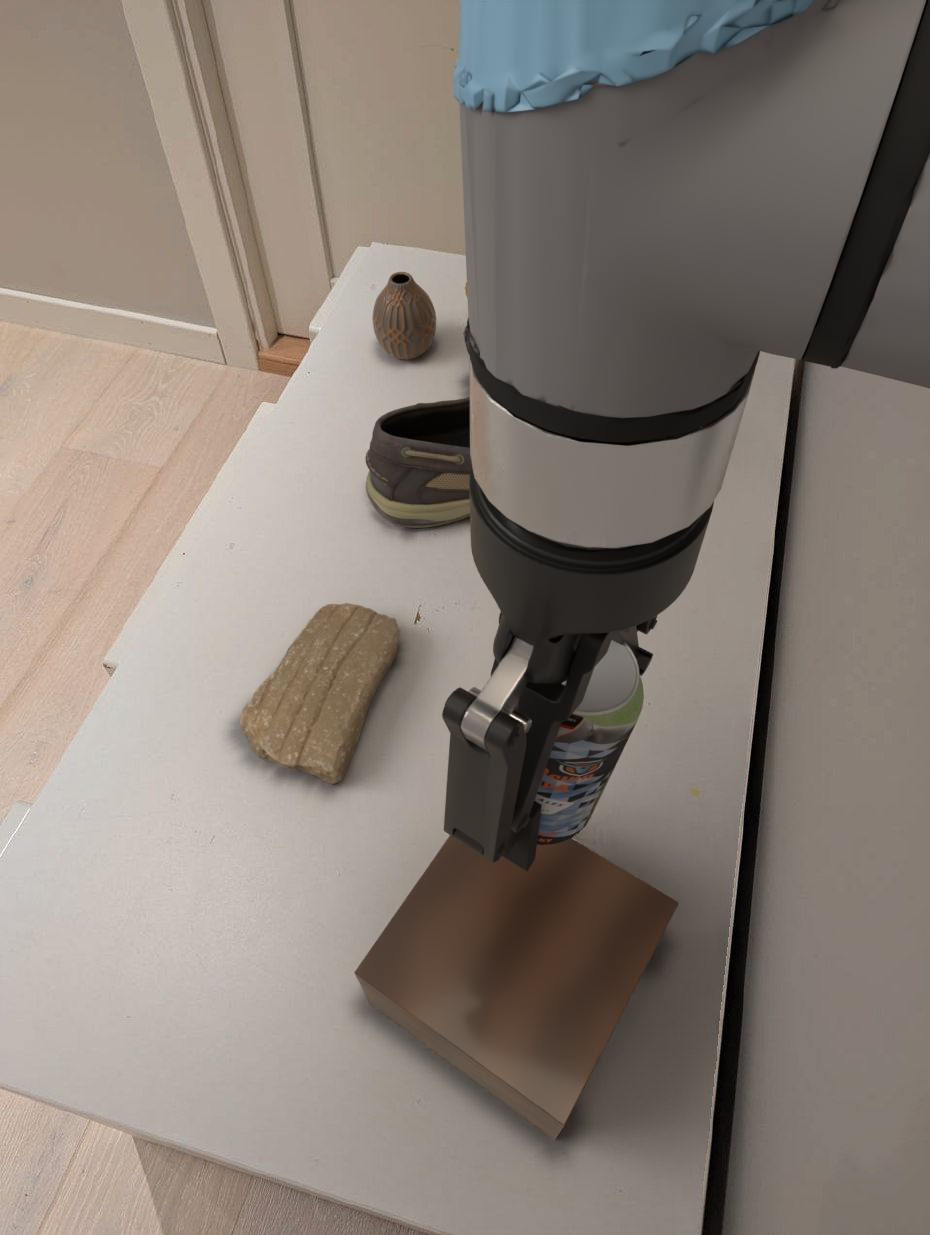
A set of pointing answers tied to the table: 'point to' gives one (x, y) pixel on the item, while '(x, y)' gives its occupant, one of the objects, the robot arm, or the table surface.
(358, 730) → the decorative stone
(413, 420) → the boat shoe
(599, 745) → the beverage can
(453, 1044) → the walnut shelf
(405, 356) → the vase
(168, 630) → the table surface
